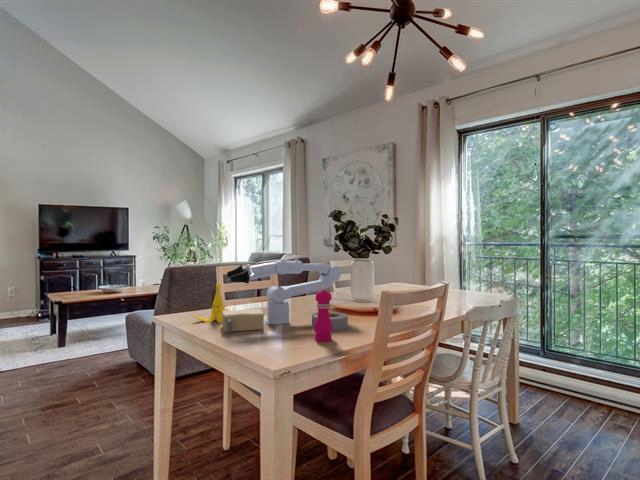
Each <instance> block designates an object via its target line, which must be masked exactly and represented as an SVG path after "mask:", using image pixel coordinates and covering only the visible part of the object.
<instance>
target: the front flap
mask: <svg viewBox="0 0 640 480" xmlns="http://www.w3.org/2000/svg"><path fill="white" fill-rule="evenodd" d="M264 319H265V313H264V314H259V315H240V316H224V331H223V332H224V333H227V332H228V333H231V332H243V330H246V331H258V329H261V330H264V329H265V327H264V326H265V325H264V323H265V320H264Z"/></svg>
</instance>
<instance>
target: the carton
mask: <svg viewBox="0 0 640 480" xmlns="http://www.w3.org/2000/svg"><path fill="white" fill-rule="evenodd" d="M224 310H225V309H224ZM259 314H264V315H265V313H264V312H263V310H262V309H261V308H252V309H251V308H250V309H249V308H247V309H228V310H225V311H222V323H221V326H222V330H223V332H224V316H240V315H259ZM258 330H260V331H261V330H262V329H258ZM258 330H257V331H258ZM243 331H247V330H243ZM243 331H242V332H243Z"/></svg>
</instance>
